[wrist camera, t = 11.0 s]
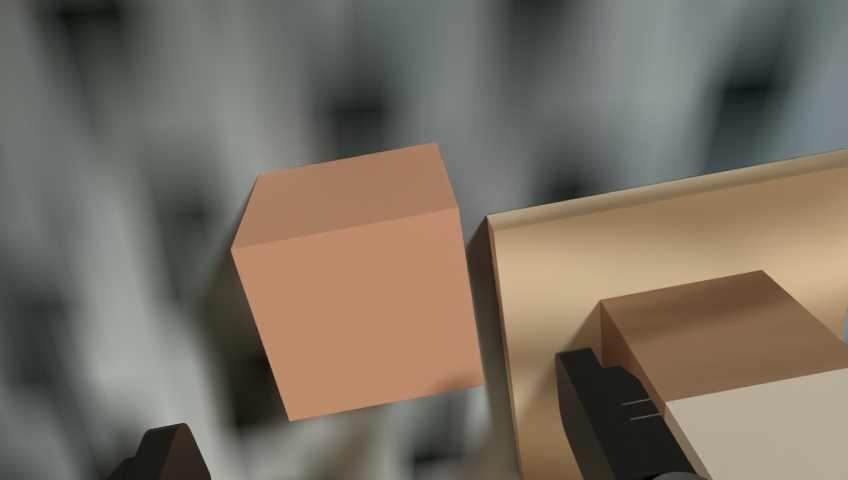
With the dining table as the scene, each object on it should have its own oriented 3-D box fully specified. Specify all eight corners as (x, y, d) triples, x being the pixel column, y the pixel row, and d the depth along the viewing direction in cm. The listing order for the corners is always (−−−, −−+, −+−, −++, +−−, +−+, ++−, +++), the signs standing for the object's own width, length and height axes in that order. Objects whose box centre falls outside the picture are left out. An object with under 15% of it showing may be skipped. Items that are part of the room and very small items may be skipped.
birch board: (486, 215, 21) (493, 231, 20) (847, 148, 21) (873, 161, 20) (519, 473, 26) (526, 497, 25) (804, 420, 26) (822, 442, 25)
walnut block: (600, 299, 21) (663, 402, 17) (761, 269, 21) (868, 363, 17) (604, 421, 24) (660, 538, 19) (749, 395, 24) (837, 505, 19)
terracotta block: (259, 173, 20) (230, 250, 15) (436, 141, 20) (458, 207, 15) (303, 319, 22) (289, 421, 18) (459, 290, 22) (484, 384, 18)
